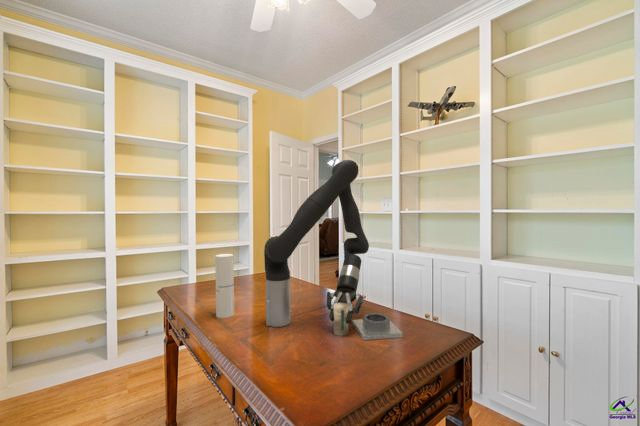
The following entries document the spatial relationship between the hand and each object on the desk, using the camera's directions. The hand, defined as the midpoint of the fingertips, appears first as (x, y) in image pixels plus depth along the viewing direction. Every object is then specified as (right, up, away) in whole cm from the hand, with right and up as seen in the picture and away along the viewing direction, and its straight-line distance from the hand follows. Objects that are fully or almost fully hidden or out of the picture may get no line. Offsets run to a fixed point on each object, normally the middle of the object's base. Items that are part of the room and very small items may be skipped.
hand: (339, 321), depth 102 cm
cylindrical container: (-47, -5, +20) cm, 51 cm away
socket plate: (+14, -5, +4) cm, 15 cm away
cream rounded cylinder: (+1, -5, +2) cm, 5 cm away
